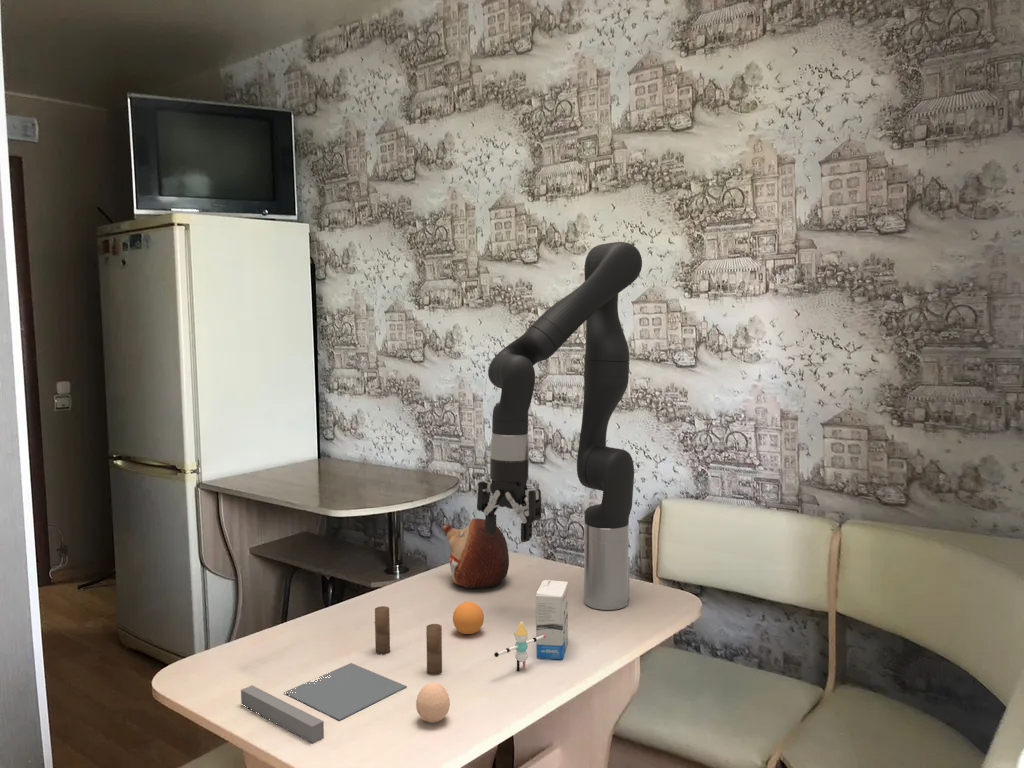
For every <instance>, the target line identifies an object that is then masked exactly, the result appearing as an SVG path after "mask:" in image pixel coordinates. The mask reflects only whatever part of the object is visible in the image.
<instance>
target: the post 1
mask: <svg viewBox="0 0 1024 768" xmlns="http://www.w3.org/2000/svg"><path fill="white" fill-rule="evenodd" d="M390 625H391V624H390V607H389V606H385V605H384V606H383V605H382V606H377V607H376V608H374V633H375V634H374V635H375V636H374V637H375V646H374V647H375V654H377V655H380V654H382V655H387V654H390V652H391V637H390V635H391V633H390V632H391V631H390V630H391V628H390Z"/></svg>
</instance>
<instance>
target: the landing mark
mask: <svg viewBox="0 0 1024 768" xmlns="http://www.w3.org/2000/svg"><path fill="white" fill-rule="evenodd" d="M329 675H330V676H331V677H330V676H329ZM322 676H323V677H324V678H323V677H322ZM327 676H328V677H330V678H328V677H327ZM318 677H319V678H320V677H321V678H322V679H321V678H320V679H318V681H317V680H315V681H317V682H315V681H314V682H310V681H311V680H309V681H307V682H304V683H305V684H304V683H302V684H300V685H298V686H295V687H292V688H291V689H288V690H287V691H284V692H283V694H284V693H285V692H286V694H288V695H290V696H292V697H293V698H292V697H291V698H292V699H294V698H295V699H294V700H296V699H298V700H300V701H301V702H300V701H299V702H300V703H302V702H303V704H304V703H306V704H307V705H306V704H305V705H306V706H308V705H309V707H310V706H311V707H310V708H312V707H314V708H316V709H317V710H316V709H315V710H316V711H318V710H319V712H320V711H321V713H322V712H323V714H324V713H325V715H326V714H327V715H326V716H328V715H329V717H330V716H331V718H333V719H335V720H337V721H338V722H341V721H342V720H344V719H346V718H348V717H350V716H352V715H354V714H356V713H358V712H361V711H362V710H364V709H366V708H368V707H370V706H372V705H374V704H376V703H378V702H380V701H382V700H384V699H387V698H388V697H390V696H392V695H394V694H396V693H398V692H400V691H403V690H404V689H406V688H407V685H406V684H403V683H400V682H398V681H395V680H394V679H391V678H388V677H387V676H384V675H381V674H379V673H376V672H374V671H371V670H369V669H367V668H365V667H362V666H360V665H357V664H355V663H352V662H350V663H347V664H345V665H343V666H340V667H339V668H337V669H334V670H332V671H330V673H329V672H328V674H327V673H325V674H323V675H321V676H320V675H319V676H318ZM325 677H327V678H325ZM320 680H321V681H320ZM306 683H307V684H306ZM309 683H310V684H309ZM314 683H315V684H314ZM295 688H296V689H295ZM291 690H292V691H291ZM287 692H288V693H287ZM290 692H291V693H290ZM292 692H293V693H292ZM295 692H296V693H295ZM286 694H285V695H286ZM288 695H287V696H288ZM290 696H289V697H290ZM298 700H297V701H298ZM314 708H313V709H314Z"/></svg>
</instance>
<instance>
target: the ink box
mask: <svg viewBox="0 0 1024 768" xmlns="http://www.w3.org/2000/svg"><path fill="white" fill-rule="evenodd" d="M568 589H569V582H568V581H563V580H553V579H551V580H550V579H544V580H542V581H541V584H540V586H539V587H538V589H537V591H536V592H535V593H536V595H535V624H536V625H535V632H536V634H535V635H536V637H535V638H537V637H539V636H542V635H543V634H545V635H546V638H542V639H539V640H537V641H536V642H535V643H536V645H535V646H536V658H537V659H551V660H563V659H564V656H565V652H566V648H567V646H568V643H569V638H568V637H569V631H568V630H569V629H568V628H569V623H568V621H569V617H568V615H569V613H568V610H569V608H568V607H569V606H568V605H569V603H568V602H569V601H568V599H569V598H568V597H569V595H568V594H569V590H568Z"/></svg>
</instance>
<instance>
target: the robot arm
mask: <svg viewBox="0 0 1024 768" xmlns="http://www.w3.org/2000/svg"><path fill="white" fill-rule="evenodd" d="M642 268H643V259H642V255H641V252H640V251H639V249H638V248H637V247H636V246H635V245H633V244H632V243H630V242H625V241H614V242H607V243H601V244H598V245H596V246H594V247H592V248H591V250H589V252H588V253H587V256H586V257H585V262H584V282H582V284H580V285H579V286H578V287H576V288H575V289H574V290H573V291H571V292H570V293H569V294H566V296H564V297H563V298H561V299H559V300H558V301H557V302H556V303H554V304H553V305H552V306H551V307H549V308H548V309H547V310H546V311H544V313H542V314H541V315H540V316H539V318H537V319H536V320H535V321H534V322H533V324H532V325H530V326H529V328H528V329H527V330H526V331H525V332H524V333H523V334H522V335H521V336H519V337H518V338H516V339H515V340H513V341H511V343H509V344H507V346H505V347H504V348H503V349H501V350H500V351H499V352H498V353H497V354H496V355H495V356H494V357H493V359H492V360H491V361H490V363H489V366H488V369H487V376H488V379H489V381H490V382H491V384H492V385H493V386H495V387H496V388H498V389H501V390H500V391H501V392H500V399H499V403H497V404H495V405H494V407H493V408H492V409H493V410H492V418H491V419H492V420H491V421H492V423H491V424H492V427H491V440H490V453H489V455H490V460H489V461H490V462H489V463H490V464H489V465H490V466H489V467H490V468H489V469H490V470H489V471H490V472H489V477H490V478H489V479H491V481H490V480H482V481H479V482H478V484H477V500H476V509H477V511H478V512H482V513H483V514H484V516H485V517H484V518H485V529H486V531H487V534H490V535H491V534H494V533H495V532H496V526H497V514H496V513H497V511H498V509H500V507H501V508H507V509H511V510H512V509H513V511H514V513H515V514H517V515H518V517H519V519H520V521H521V523H520V541H521V542H522V543H527V542H529V541H531V539H532V536H533V524H534V523H533V522H535V521H539V520H541V519H542V492H541V491H542V490H541V489H540V488H535V489H529V488H528V484H527V483H528V480H529V464H530V463H529V461H530V459H529V457H530V456H529V454H530V442H529V434H528V433H529V411H530V407H531V403H532V399H533V395H534V389H535V386H536V371H535V367H534V366H535V365H536V364H537V363H539V362H542V361H547V360H548V359H549V358H551V357H552V356H553V355H554V354H555V353H556V352H557V350H559V349H560V348H561V347H562V346H563V345H564V344H565V343H566V341H568V339H569V338H570V337H571V336H572V335H573V334H574V333H575V332H576V331H577V330H578V329H579V328H580V327H581V326H582V325H583V324H584V323H585V352H584V365H583V366H584V370H583V373H584V374H583V383H584V385H583V402H582V416H581V417H582V418H581V427H580V435H579V441H578V449H577V457H576V472H577V473H576V474H577V478H578V480H579V482H580V484H581V485H582V486H583V487H585V488H587V489H591V490H597V491H600V492H601V491H602V497H601V503H599V504H595V505H590V506H588V507H587V508H586V509H585V510H584V525H583V526H584V530H583V531H584V533H583V535H584V540H583V541H584V547H583V548H584V550H583V551H584V552H583V553H584V557H583V559H584V561H583V567H584V568H583V569H584V570H583V572H584V573H583V576H584V577H583V579H584V580H583V603H584V604H585V605H586V606H588V607H589V608H592V609H596V610H603V611H615V610H619V609H623V608H625V607H627V605H629V604H628V601H629V600H630V573H631V572H630V570H631V569H630V567H631V566H630V564H631V563H630V561H631V559H630V556H629V539H630V538H629V533H630V532H629V527H630V526H629V523H630V522H629V521H630V514H631V512H632V508H633V497H634V496H633V495H634V483H635V482H634V480H635V466H634V460H633V458H632V457H633V456H632V455H631V453H629V451H627V450H625V449H622V448H618V447H617V448H616V447H611V446H610V447H609V446H607V432H608V427H609V422H610V419H611V417H612V415H613V413H614V411H615V409H617V406H618V405H619V404H620V401H621V400H622V398H623V397H624V395H625V394H626V390H627V388H628V384H629V379H630V378H629V377H630V350H629V346H628V341H627V338H626V336H625V333H624V331H623V328H622V327H623V326H622V324H621V321H620V317H619V309H618V308H619V293H621V292H622V291H624V290H625V289H626V288H628V287H630V285H631V284H632V283H634V282H635V281H636V280H637V279H638V277H639V276H640V273H641V271H642ZM491 494H492V496H491ZM490 497H491V498H490Z"/></svg>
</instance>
